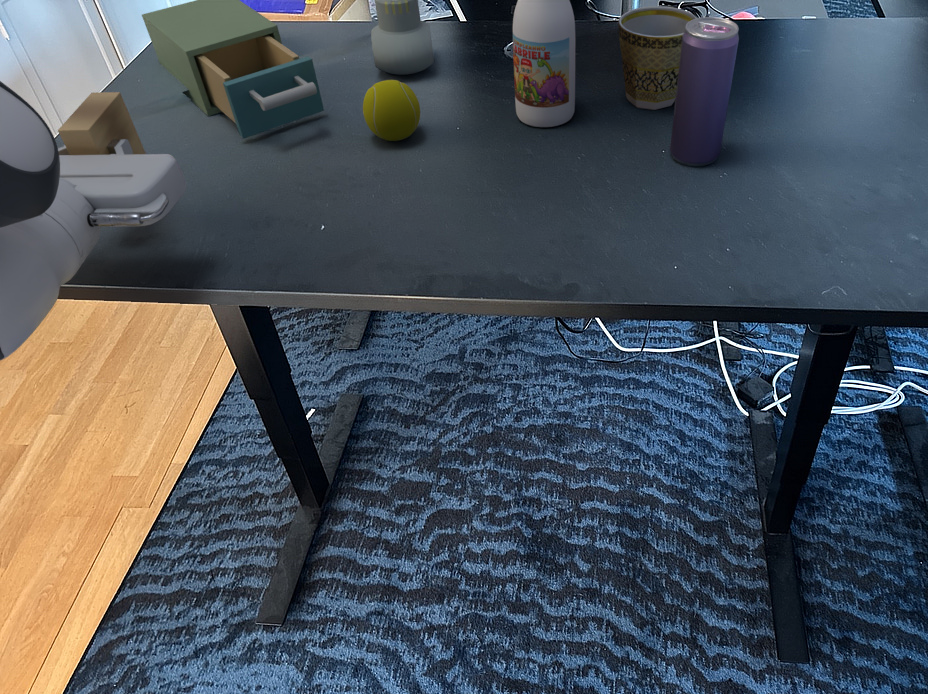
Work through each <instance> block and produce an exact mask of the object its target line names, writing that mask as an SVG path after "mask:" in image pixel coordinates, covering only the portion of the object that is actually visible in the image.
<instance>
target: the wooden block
mask: <svg viewBox="0 0 928 694" xmlns="http://www.w3.org/2000/svg"><path fill="white" fill-rule="evenodd" d="M135 126H136V125H135V124H134V121H133V119H132V117H131V115H130V112H129V110H128V108H127V105H126V103H125V101H124V98H123V96H122V94H121V92H120V91H118V92H117V91H112V92H111V91H109V92H107V91H106V92H105V91H101V92H99V91H98V92H91V93H90V94H89V95H88V96H87V97H86V98H84V100H83V101H82V102H81V103H80V105H79V106H78V107H77V108H76V109H75V110H74V111H73V113H72V114H71V115H70V116H69V117H68V118H67V119H66V120H65V122H63V124H62V125H60V127H59V128H58V129H57V132H58V134H59V136H60V138H61V140H62V142H63V145H65V146H66V148H67V150H68V152H69V154H70V155H110V153H109V151H108V149H107V145H108V144H109V143H110V142H111V140H116V139H127V140H128V141H129V143H130V145H131V148H132V150H133V154H147V153H146V150H145V148H144V146H143V143H142V141H141V138H140V136H139V134H138V132H137V128H136V127H135Z"/></svg>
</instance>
